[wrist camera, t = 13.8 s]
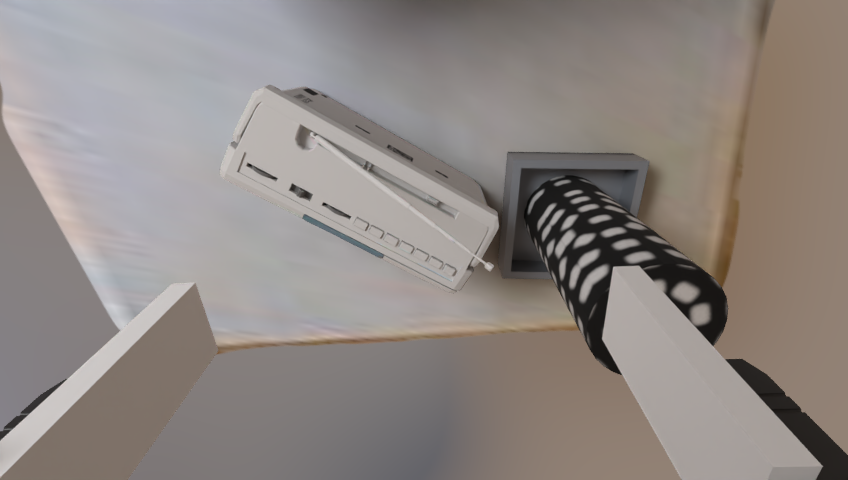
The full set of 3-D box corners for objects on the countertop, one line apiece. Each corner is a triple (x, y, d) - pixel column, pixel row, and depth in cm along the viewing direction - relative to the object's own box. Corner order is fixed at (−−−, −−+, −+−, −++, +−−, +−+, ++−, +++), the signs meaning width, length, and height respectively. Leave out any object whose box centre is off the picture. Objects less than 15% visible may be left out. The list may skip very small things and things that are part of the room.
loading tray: (507, 152, 42) (513, 159, 39) (633, 153, 42) (649, 161, 39) (497, 263, 47) (502, 278, 44) (610, 265, 47) (622, 280, 44)
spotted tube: (598, 164, 42) (726, 247, 23) (609, 238, 45) (729, 362, 26) (516, 188, 43) (576, 284, 24) (532, 258, 46) (596, 389, 27)
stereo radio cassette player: (274, 147, 43) (152, 212, 24) (305, 72, 40) (193, 81, 21) (449, 240, 46) (459, 359, 28) (490, 178, 43) (530, 264, 25)
